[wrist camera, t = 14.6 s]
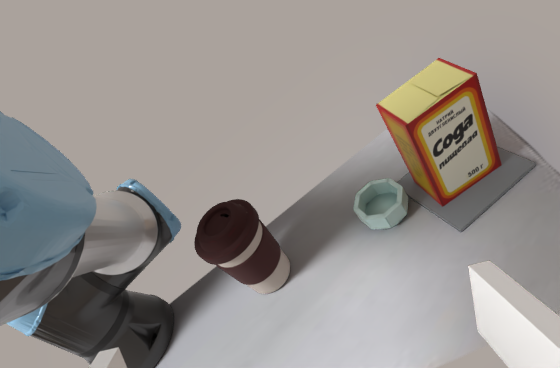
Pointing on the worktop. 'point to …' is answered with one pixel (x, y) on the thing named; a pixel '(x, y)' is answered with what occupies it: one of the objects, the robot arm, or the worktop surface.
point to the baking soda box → (442, 130)
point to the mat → (473, 191)
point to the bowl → (381, 204)
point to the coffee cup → (242, 246)
